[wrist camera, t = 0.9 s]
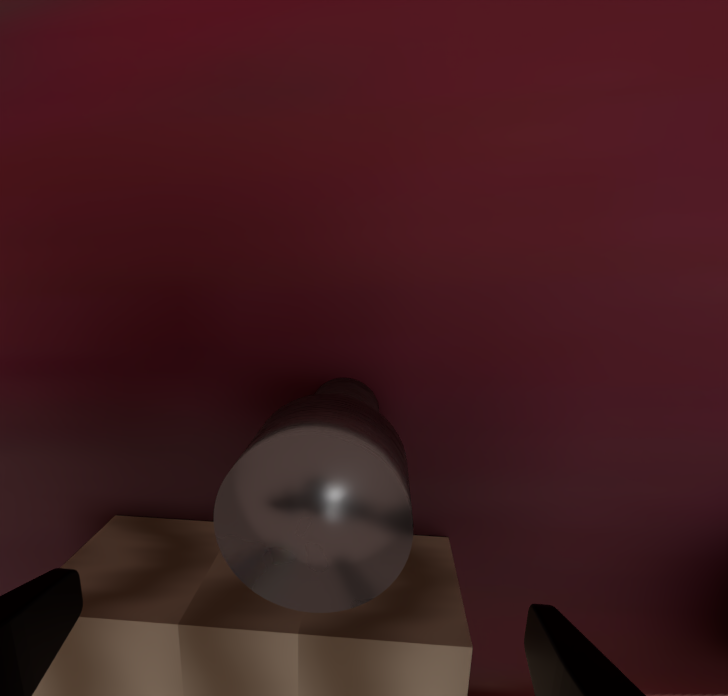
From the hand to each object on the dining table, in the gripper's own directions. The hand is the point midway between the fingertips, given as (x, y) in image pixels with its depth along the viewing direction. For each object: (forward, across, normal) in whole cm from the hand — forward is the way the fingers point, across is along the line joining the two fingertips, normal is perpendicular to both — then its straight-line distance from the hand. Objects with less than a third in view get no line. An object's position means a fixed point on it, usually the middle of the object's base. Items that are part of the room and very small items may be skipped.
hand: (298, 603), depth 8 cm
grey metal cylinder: (+10, 0, 0) cm, 10 cm away
